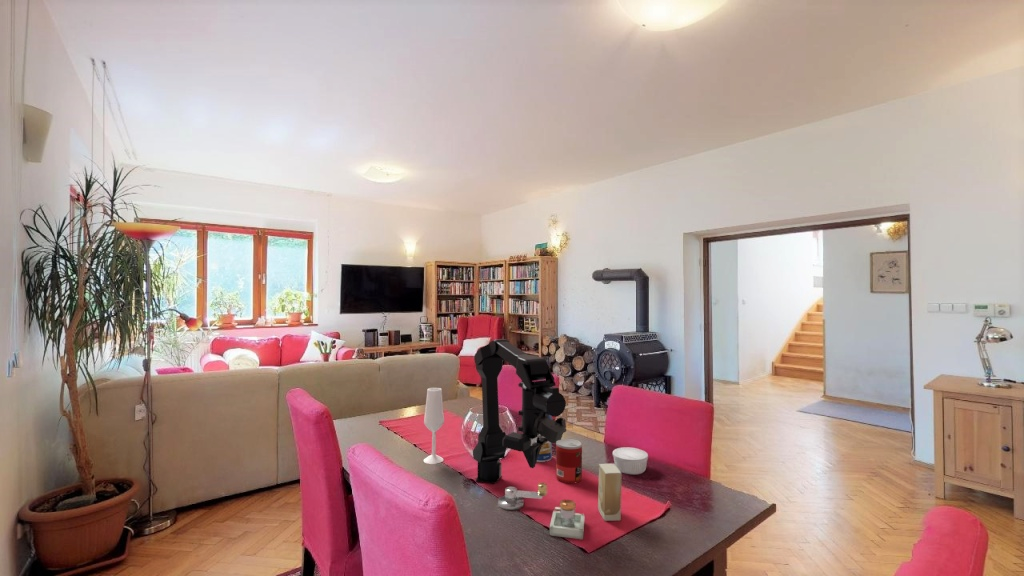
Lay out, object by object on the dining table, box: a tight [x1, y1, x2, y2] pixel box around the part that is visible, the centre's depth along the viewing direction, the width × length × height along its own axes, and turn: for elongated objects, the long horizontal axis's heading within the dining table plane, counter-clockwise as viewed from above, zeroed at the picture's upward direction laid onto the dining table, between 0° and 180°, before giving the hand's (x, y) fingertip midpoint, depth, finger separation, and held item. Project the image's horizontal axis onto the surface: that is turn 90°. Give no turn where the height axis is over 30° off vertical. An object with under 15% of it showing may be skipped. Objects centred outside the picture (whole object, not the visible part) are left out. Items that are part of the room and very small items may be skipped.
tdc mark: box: [554, 506, 561, 511], centre depth 115 cm, size 3×1×1 cm, turn 78°
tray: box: [549, 510, 586, 540], centre depth 106 cm, size 8×8×2 cm
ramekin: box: [612, 446, 649, 476], centre depth 143 cm, size 11×11×5 cm
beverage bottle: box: [536, 415, 553, 463], centre depth 151 cm, size 8×8×20 cm
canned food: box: [555, 438, 583, 484], centre depth 135 cm, size 8×8×11 cm
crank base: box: [497, 495, 525, 511], centre depth 118 cm, size 7×7×1 cm
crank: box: [504, 482, 548, 504], centre depth 118 cm, size 11×3×5 cm, turn 81°
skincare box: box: [597, 463, 623, 522], centre depth 113 cm, size 6×4×12 cm
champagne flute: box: [423, 387, 445, 465], centre depth 148 cm, size 7×7×24 cm
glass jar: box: [559, 499, 577, 528], centre depth 106 cm, size 4×4×6 cm
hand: (532, 467), depth 113 cm, fingers closed
